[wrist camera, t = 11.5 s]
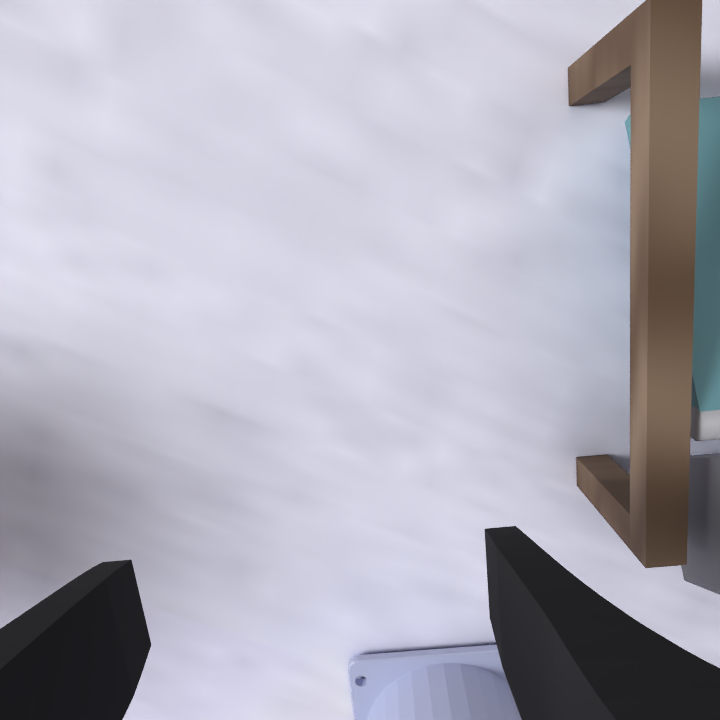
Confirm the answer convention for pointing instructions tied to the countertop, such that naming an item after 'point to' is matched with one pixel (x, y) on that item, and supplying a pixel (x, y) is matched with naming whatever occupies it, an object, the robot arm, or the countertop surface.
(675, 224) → the frame
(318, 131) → the countertop surface
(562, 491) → the countertop surface
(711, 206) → the trapdoor
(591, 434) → the countertop surface
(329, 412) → the countertop surface
